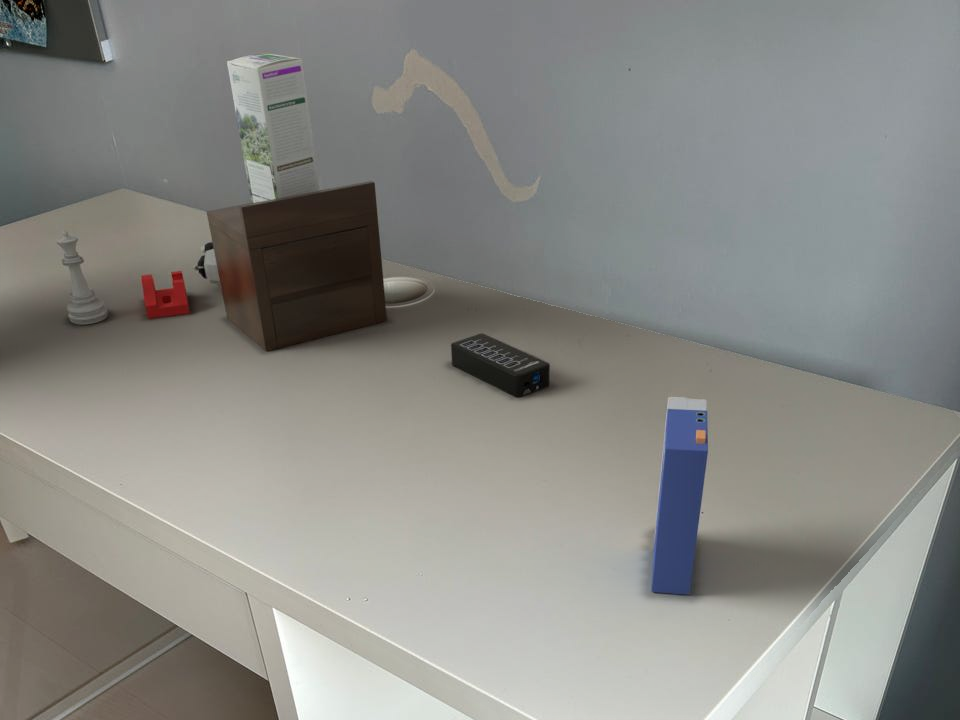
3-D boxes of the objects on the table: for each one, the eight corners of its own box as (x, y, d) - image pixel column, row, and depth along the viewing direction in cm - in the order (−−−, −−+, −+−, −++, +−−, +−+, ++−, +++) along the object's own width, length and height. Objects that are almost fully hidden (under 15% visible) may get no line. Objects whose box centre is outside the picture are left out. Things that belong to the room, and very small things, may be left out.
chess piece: (116, 314, 118) (93, 227, 111) (89, 327, 115) (63, 238, 108) (89, 309, 119) (64, 223, 113) (61, 321, 116) (35, 234, 110)
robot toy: (202, 269, 132) (198, 300, 120) (195, 234, 129) (191, 261, 117) (293, 260, 134) (300, 290, 121) (288, 225, 131) (294, 251, 119)
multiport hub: (482, 352, 106) (481, 332, 104) (551, 385, 99) (551, 363, 97) (450, 364, 103) (449, 343, 102) (517, 398, 97) (517, 376, 95)
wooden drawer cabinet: (226, 318, 116) (200, 182, 106) (341, 291, 122) (326, 160, 112) (266, 351, 108) (241, 207, 98) (387, 320, 114) (374, 182, 104)
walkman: (689, 595, 71) (709, 445, 63) (650, 592, 71) (665, 443, 64) (690, 536, 77) (708, 392, 69) (654, 533, 77) (668, 391, 70)
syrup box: (324, 208, 108) (305, 55, 98) (280, 220, 104) (256, 64, 95) (293, 199, 111) (272, 50, 102) (249, 211, 108) (224, 58, 98)
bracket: (147, 300, 121) (141, 275, 119) (186, 295, 122) (181, 270, 120) (148, 318, 116) (142, 293, 114) (189, 313, 117) (184, 288, 115)
